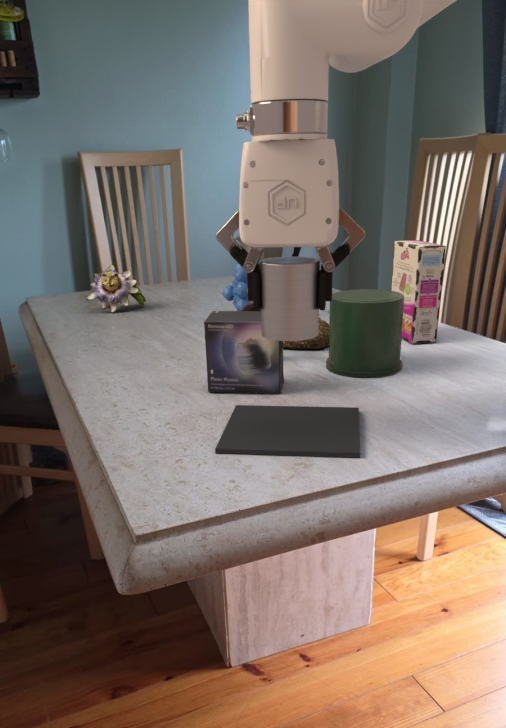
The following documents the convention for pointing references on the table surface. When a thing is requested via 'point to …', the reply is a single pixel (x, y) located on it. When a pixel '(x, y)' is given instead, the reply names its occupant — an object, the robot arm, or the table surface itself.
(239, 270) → the grapes
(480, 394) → the table surface
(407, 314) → the candy bar box
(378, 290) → the green flanged canister
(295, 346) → the bread roll
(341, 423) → the mat
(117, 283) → the passion flower
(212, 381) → the small box
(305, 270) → the steel cup
